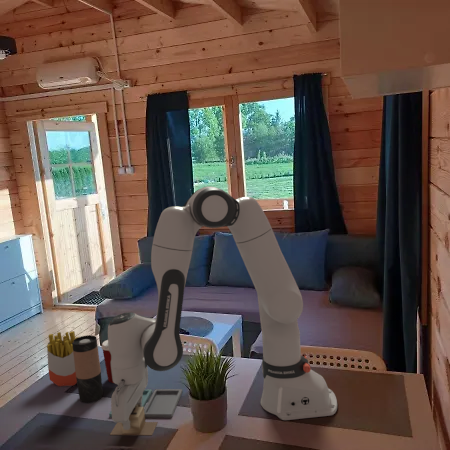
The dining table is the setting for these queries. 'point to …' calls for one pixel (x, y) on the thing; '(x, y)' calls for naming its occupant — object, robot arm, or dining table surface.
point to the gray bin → (163, 403)
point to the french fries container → (61, 359)
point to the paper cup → (107, 360)
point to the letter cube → (136, 421)
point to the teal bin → (145, 398)
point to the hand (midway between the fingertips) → (133, 418)
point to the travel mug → (87, 368)
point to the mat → (146, 430)
